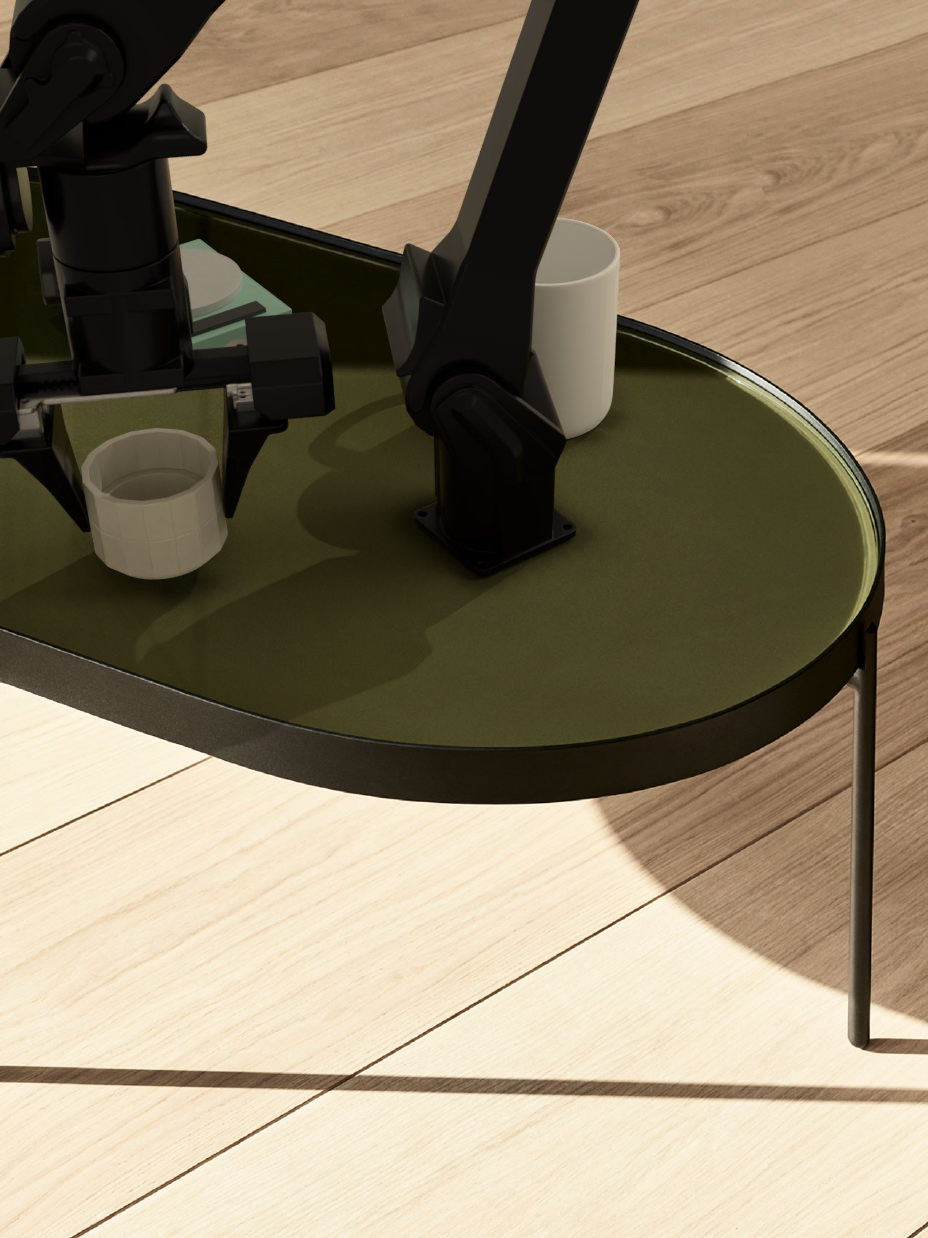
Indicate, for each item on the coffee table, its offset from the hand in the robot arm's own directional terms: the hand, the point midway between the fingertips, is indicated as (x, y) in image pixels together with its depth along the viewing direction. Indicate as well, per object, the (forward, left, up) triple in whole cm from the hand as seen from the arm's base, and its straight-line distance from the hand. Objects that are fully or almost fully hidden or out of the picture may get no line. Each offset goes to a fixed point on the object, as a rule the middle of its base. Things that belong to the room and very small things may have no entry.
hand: (159, 520), depth 86 cm
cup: (+2, -24, -3) cm, 25 cm away
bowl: (0, 0, -2) cm, 2 cm away
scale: (+22, -13, -3) cm, 26 cm away
